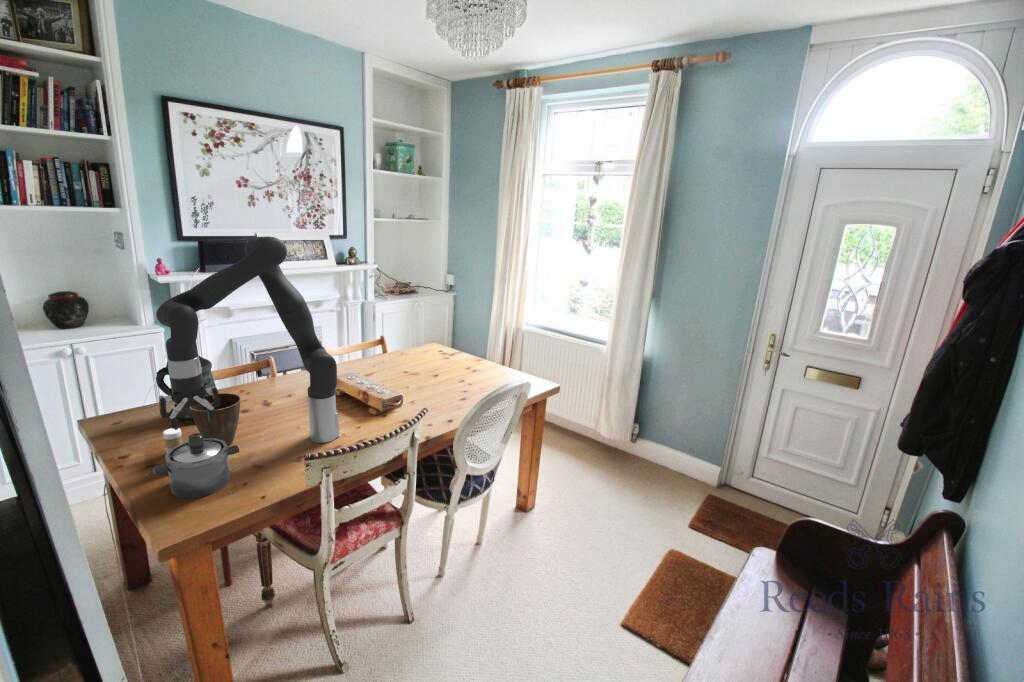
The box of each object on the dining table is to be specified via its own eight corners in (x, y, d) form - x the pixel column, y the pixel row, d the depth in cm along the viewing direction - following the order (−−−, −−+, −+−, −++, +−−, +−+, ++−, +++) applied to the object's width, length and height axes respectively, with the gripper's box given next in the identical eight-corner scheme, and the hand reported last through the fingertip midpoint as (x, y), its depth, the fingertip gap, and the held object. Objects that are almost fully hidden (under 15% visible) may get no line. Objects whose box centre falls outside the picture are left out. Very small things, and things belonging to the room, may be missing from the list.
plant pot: (183, 451, 159) (177, 407, 154) (216, 431, 173) (211, 390, 168) (224, 457, 157) (219, 413, 152) (254, 436, 171) (250, 395, 167)
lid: (217, 440, 148) (215, 423, 146) (225, 457, 139) (223, 439, 137) (171, 451, 140) (168, 433, 138) (175, 469, 131) (173, 450, 130)
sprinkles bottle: (184, 463, 152) (178, 425, 148) (188, 469, 149) (182, 431, 145) (167, 468, 148) (160, 430, 145) (170, 474, 145) (164, 435, 142)
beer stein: (233, 414, 186) (226, 354, 179) (178, 431, 171) (168, 366, 164) (212, 402, 195) (205, 344, 188) (158, 417, 179) (148, 355, 172)
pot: (234, 461, 155) (230, 431, 151) (247, 482, 144) (243, 450, 141) (154, 484, 140) (148, 450, 137) (162, 509, 130) (156, 473, 127)
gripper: (211, 364, 139) (218, 413, 144) (152, 373, 130) (161, 426, 134) (218, 371, 134) (224, 422, 139) (156, 382, 125) (165, 437, 129)
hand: (193, 424), depth 137 cm, fingers open, 8 cm apart
